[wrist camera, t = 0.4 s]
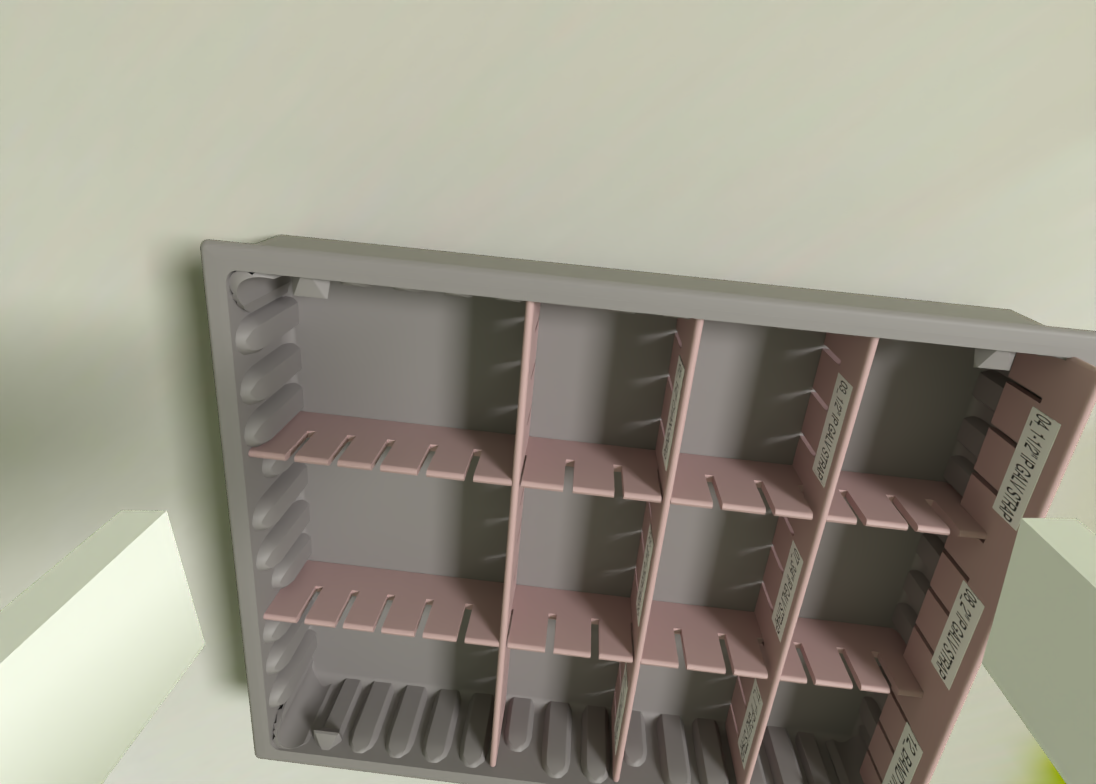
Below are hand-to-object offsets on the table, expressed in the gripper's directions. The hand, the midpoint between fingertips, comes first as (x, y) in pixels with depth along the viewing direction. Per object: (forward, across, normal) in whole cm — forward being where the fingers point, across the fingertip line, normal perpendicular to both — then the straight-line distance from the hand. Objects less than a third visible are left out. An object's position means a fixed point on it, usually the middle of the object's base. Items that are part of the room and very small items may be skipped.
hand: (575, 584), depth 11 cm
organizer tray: (+28, +1, -16) cm, 32 cm away
